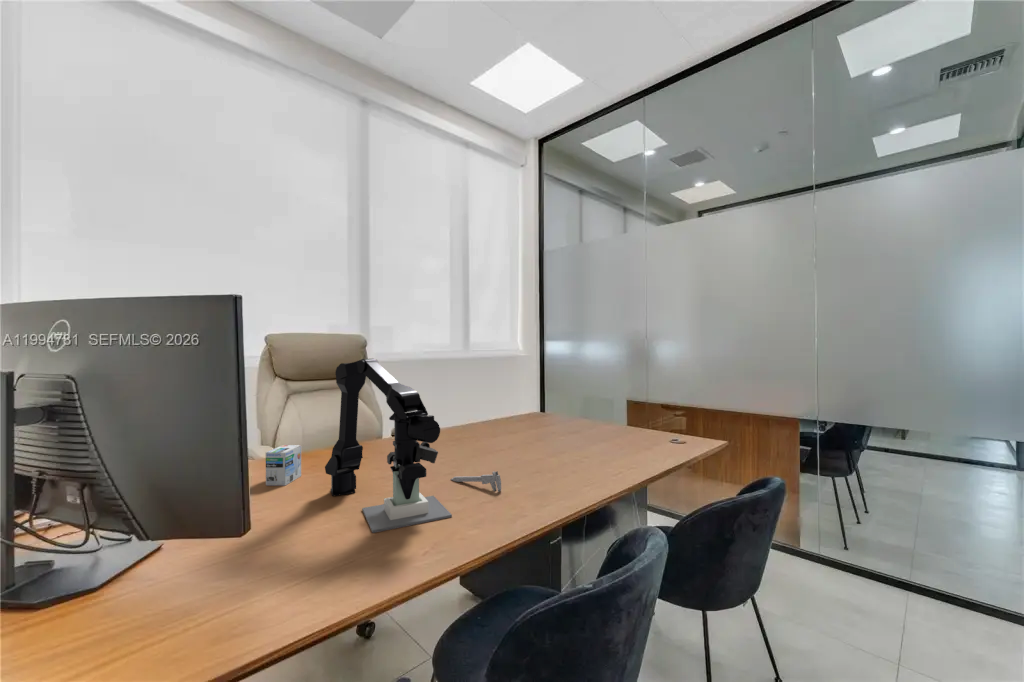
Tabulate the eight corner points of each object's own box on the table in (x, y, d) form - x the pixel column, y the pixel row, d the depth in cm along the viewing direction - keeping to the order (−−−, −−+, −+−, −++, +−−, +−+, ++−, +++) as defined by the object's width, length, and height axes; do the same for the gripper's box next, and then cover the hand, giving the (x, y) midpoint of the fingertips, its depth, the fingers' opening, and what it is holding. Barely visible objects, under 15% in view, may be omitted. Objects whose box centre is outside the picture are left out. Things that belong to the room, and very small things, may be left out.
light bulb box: (285, 486, 139) (285, 452, 139) (264, 486, 139) (264, 452, 139) (302, 475, 150) (302, 444, 150) (282, 475, 150) (282, 444, 150)
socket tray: (372, 533, 104) (372, 518, 104) (362, 510, 118) (362, 497, 118) (451, 516, 114) (451, 503, 114) (433, 497, 128) (433, 485, 128)
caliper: (501, 492, 133) (501, 471, 133) (499, 493, 132) (499, 472, 132) (452, 480, 145) (452, 461, 145) (450, 481, 144) (450, 462, 144)
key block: (419, 506, 116) (419, 472, 116) (396, 510, 113) (396, 475, 113) (415, 501, 119) (415, 468, 119) (393, 505, 116) (392, 471, 116)
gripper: (445, 441, 111) (446, 502, 111) (425, 428, 128) (425, 481, 128) (402, 446, 106) (402, 510, 106) (386, 432, 123) (386, 487, 123)
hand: (405, 496), depth 116 cm, fingers closed on key block, 4 cm apart
